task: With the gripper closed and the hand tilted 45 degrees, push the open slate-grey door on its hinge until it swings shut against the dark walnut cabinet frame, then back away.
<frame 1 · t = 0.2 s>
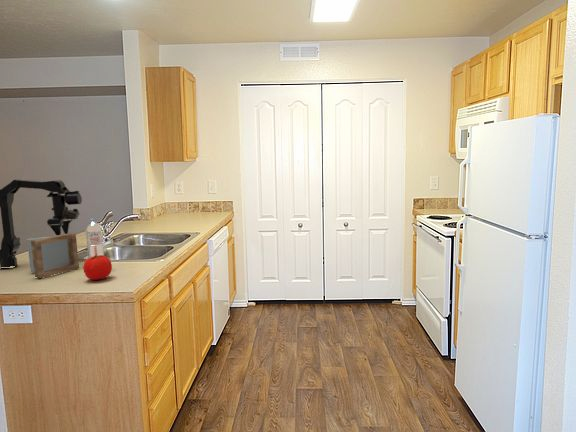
hand: (63, 235, 227), 15 cm above the worktop, tool pointing down, fingers open, 9 cm apart
door: (49, 253, 217), point 9 cm above the worktop, hinge at 35.0°
cabinet frame: (57, 273, 212), on the worktop
tomato: (98, 279, 199), on the worktop
water bottle: (97, 271, 214), on the worktop
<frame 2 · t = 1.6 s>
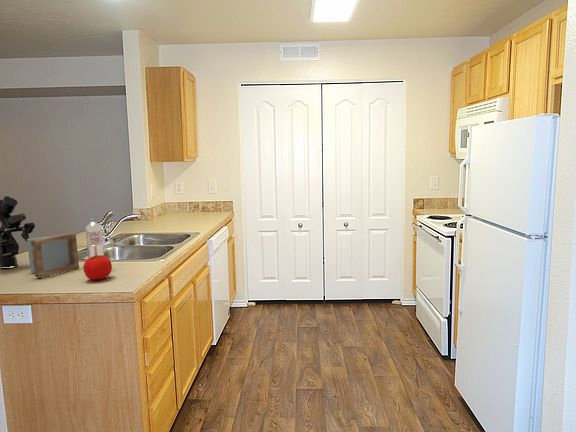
hand: (23, 243, 218), 14 cm above the worktop, tool tilted 45°, fingers open, 6 cm apart
nothing on the worktop moved.
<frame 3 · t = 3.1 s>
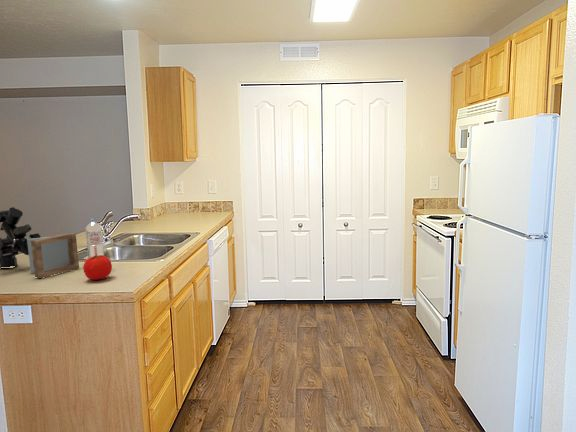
hand: (28, 254, 217), 8 cm above the worktop, tool tilted 45°, fingers closed
nothing on the worktop moved.
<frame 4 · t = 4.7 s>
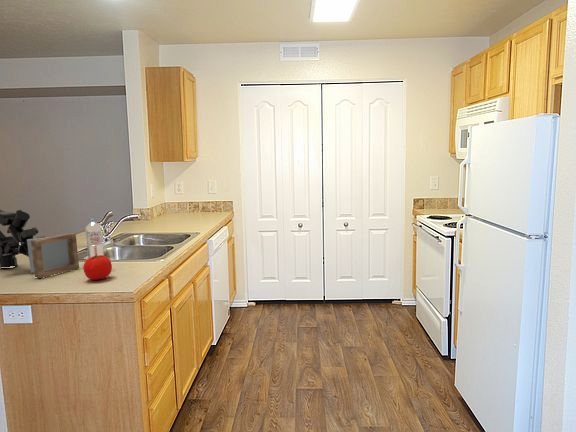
hand: (35, 258, 214), 7 cm above the worktop, tool tilted 45°, fingers closed
door: (49, 253, 216), point 9 cm above the worktop, hinge at 30.8°, touching gripper
everything else where it was.
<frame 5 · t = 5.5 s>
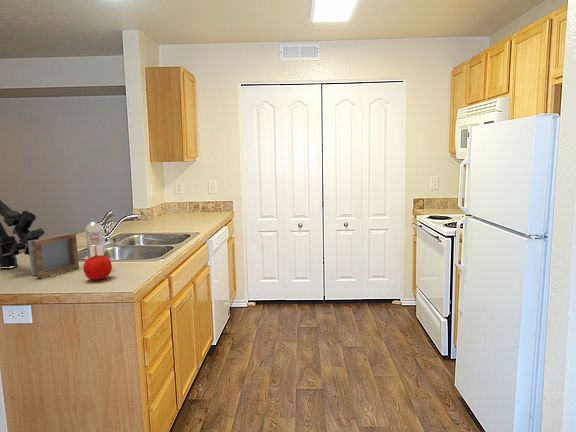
hand: (41, 259, 212), 7 cm above the worktop, tool tilted 45°, fingers closed
door: (49, 254, 214), point 9 cm above the worktop, hinge at 14.7°, touching gripper
everything else where it was.
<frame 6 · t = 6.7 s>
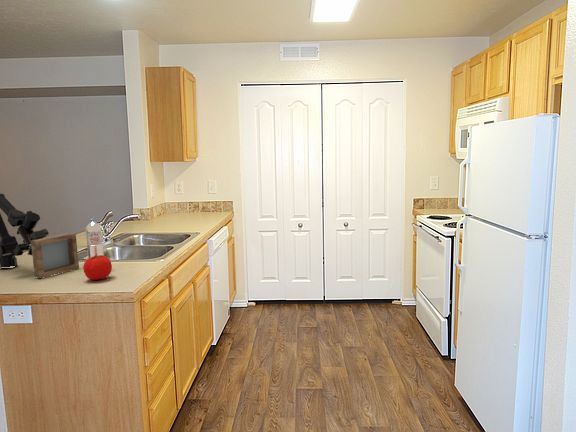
hand: (45, 260, 211), 7 cm above the worktop, tool tilted 45°, fingers closed, pressing on door
door: (51, 255, 213), point 9 cm above the worktop, hinge at -0.4°, touching gripper
everything else where it was.
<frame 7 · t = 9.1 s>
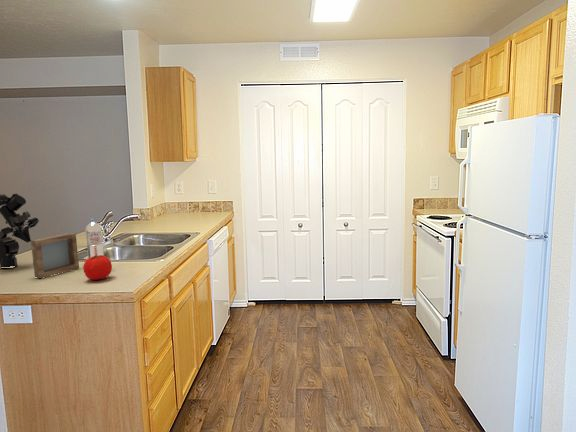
hand: (29, 241, 222), 13 cm above the worktop, tool tilted 35°, fingers closed
door: (51, 255, 213), point 9 cm above the worktop, hinge at -0.4°
everything else where it was.
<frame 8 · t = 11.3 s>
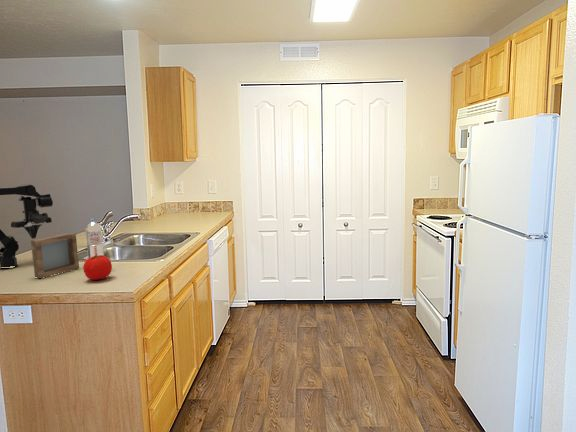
hand: (33, 238, 234), 13 cm above the worktop, tool pointing down, fingers closed
nothing on the worktop moved.
at the end: door at +0° (first picture: +35°) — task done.
